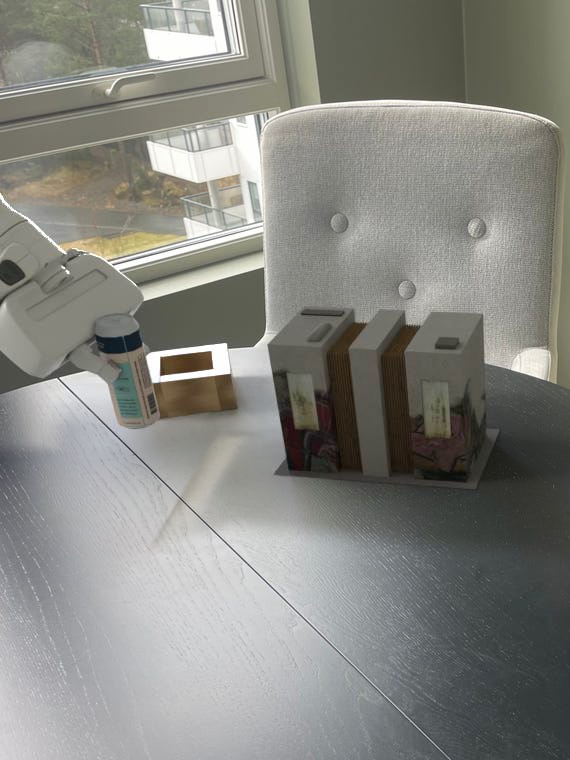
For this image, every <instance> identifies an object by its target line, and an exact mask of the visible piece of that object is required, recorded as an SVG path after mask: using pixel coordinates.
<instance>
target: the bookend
mask: <svg viewBox="0 0 570 760" xmlns="http://www.w3.org/2000/svg"><path fill="white" fill-rule="evenodd" d="M429 312H430V313H429V314H428V316H427V317H426V318H425V320H424V321H423V323H422V324H408V323H407V319H406V310H405V309H384V308H383V309H381V308H380V309H378V310H377V312H376V313H375V314H374V316H373V317H372V318H371V320H370V321H369V322H362V321H356V315H355V314H356V313H355V308H353V307H335V306H334V307H333V306H310V305H309V306H307V305H304V306H303V307H302V308H301V309H300V310H299V311H298V312H297V313H296V314H295V315H294V316H293V317H292V318H291V319H290V320H289V321H288V322H287V323H286V324H285V325H284V326H283V328H281V330H280V331H279V332H278V333H276V335H274V337H272V338H271V340H270V341H269V342H268V343H267V352H268V357H269V364H270V369H271V375H272V381H273V385H274V391H275V393H274V394H275V398H276V404H277V410H278V416H279V422H280V429H281V434H282V440H283V446H284V452H285V457H284V460H283V461H282V462H281V464H279V466H278V467H277V469H276V470H275V472H273V475H274V476H287V477H288V476H289V477H301V478H302V477H303V478H314V479H327V480H328V479H330V480H340V481H341V480H342V481H353V482H354V481H355V482H368V483H382V484H395V485H396V484H397V485H409V486H423V487H434V488H435V487H436V488H448V489H462V490H476V489H477V487H478V484H479V482H480V480H481V478H482V475H483V473H484V470H485V467H486V465H487V462H488V460H489V458H490V455H491V453H492V450H493V448H494V446H495V444H496V441H497V438H498V435H499V433H500V431H501V429H499V428H487V405H486V403H487V402H486V401H487V400H486V368H485V366H486V365H485V363H486V362H485V330H484V313H475V312H453V311H452V312H451V311H429Z"/></svg>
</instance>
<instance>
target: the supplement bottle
mask: <svg viewBox="0 0 570 760" xmlns="http://www.w3.org/2000/svg"><path fill="white" fill-rule="evenodd" d="M95 338H96V342H95V343H96V345H97V349H98V350H97V351H98V354H99V357H100V358H102V359H104V360H105V361H107V362H108V361H109V360H111V359H112V360H113V361H114V362H115V363H116V364H117V366H120V367H121V368H122V370H123V374H122V375H121V376H120V377H119V379H118V380H116V381H115V382H114V383H113V384H110V385H109V384H107V387H108V391H109V395H110V399H111V402H112V406H113V410H114V414H115V418H116V422H117V424H118V425H119V426H121V427H124V428H126V429H128V430H130V429H131V430H142V429H146V428H148V427H151V426H153V425H154V424H155V423H156V422H158V421H159V420H160V419H161V418H160V413H159V410H158V405H157V401H156V397H155V392H154V388H153V384H152V380H151V375H150V371H149V367H148V362H147V358H146V354H145V349H144V345H143V343H144V341H143V336H142V333H141V329H140V324H139V323H138V321H137V320H136V319H135V317H134V315H133V316H131V315H129V314H126V313H114V314H109V315H104V316H102V317H100V318H98V319H97V320H96V327H95ZM159 418H160V419H159Z"/></svg>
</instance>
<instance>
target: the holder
mask: <svg viewBox="0 0 570 760" xmlns="http://www.w3.org/2000/svg"><path fill="white" fill-rule="evenodd" d="M146 358H147V362H148V367H149V371H150V375H151V380H152V384H153V388H154V392H155V397H156V401H157V405H158V410H159V413H160V418H159V419H158V420H160V419H166V418H174V417H182V416H190V415H198V414H206V413H213V412H221V411H228V410H234V409H238V401H237V395H236V387H235V381H234V373H233V368H232V363H231V358H230V355H229V349H228V343H227V342H226V343H217V344H208V345H202V346H193V347H184V348H176V349H175V348H174V349H168V350H161V351H160V350H159V351H150V353H149V354H148V355H147V356H146Z"/></svg>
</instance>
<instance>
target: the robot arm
mask: <svg viewBox="0 0 570 760" xmlns="http://www.w3.org/2000/svg"><path fill="white" fill-rule="evenodd" d="M144 300H145V297H144V294H143V292H142V290H141V289H140V287H138V286H137V285H136V284H135V283H134V282H133V281H132V280H131V279H129V278H128V277H127V276H126V275H125V274H124V273H122V272H121V271H120V270H119V269H117V268H116V267H115V266H113V265H112V264H111V263H110V262H108V261H107V260H105V259H104V258H103V257H101V256H99V255H96V254H93V253H91V252H90V251H85V250H81V249H77V248H75V247H72V248H69V249H68V250H66V251H64V250H63V249H62V247H60V246H59V245H57V243H56V242H54V241H53V240H52V239H51V238H50V237H49V236H48V235H46V233H45V232H43V231H42V230H41V229H40V228H39V226H37V225H36V224H35V223H34V222H33V221H32V220H31V219H29V218H28V217H27V216H25V215H24V214H22V213H19V212H18V211H16V210H14V209H13V208H12V207H11V206H10V205H9V204H8V203H7V202H6V201H5V199H4V197H3V196H2V195H1V194H0V352H1V353H2V354H3V355H4V356H6V358H8V359H9V360H10V361H11V362H12V363H13V364H15V366H17V367H18V368H19V369H21V370H22V371H23V372H24V373H26V374H28V375H29V376H32V377H35V378H39V379H45V378H47V377H48V376H49V375H51V374H52V373H54V371H56V370H58V369H59V368H61V367H62V366H63V365H65V364H66V363H68V362H69V361H70V362H71V363H72V364H73V365H74V366H75V367H76V368H78V369H81V370H83V371H86V372H88V373H91V374H94V375H97V376H98V377H99V378H100V379H101V380H103V381H104V383H106V384H107V385H108V384H109V385H110V384H113V383H114V382H115V381H116V380H118V379H119V377H120V376H121V375H122V374H123V370H122V368H121V367H120V366H117V364H116V363H115V362H114V361H113V360H112V359H111V360H109V361H108V362H107V361H105V360H104V359H102V358H101V357H100V356H98V355H96V354H94V353H92V352H93V348H92V347H91V346H92V345H93V344H95V343H97V342H96V338H95V327H96V320H97V319H98V318H100V317H102V316H104V315H109V314H114V313H126V314H129V315H131V316H133V317H134V315H135V313H136V312H137V311H138V310H139V308H140V307H141V305H142V304H143V302H145V301H144ZM143 345H144V349H145V354H146V356H147V355H148V354H149V353H150V352H151V349H150V348H149V346H148V345H147V344H145V343H144V342H143Z"/></svg>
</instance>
